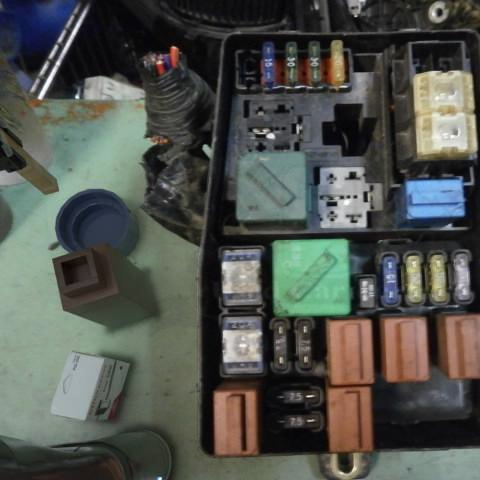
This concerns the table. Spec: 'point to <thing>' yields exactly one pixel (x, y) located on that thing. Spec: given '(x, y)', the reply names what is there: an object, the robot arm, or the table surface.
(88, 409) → the ink box
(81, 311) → the stand
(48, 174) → the stirring stick
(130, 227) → the bowl
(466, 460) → the table surface
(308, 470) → the table surface
